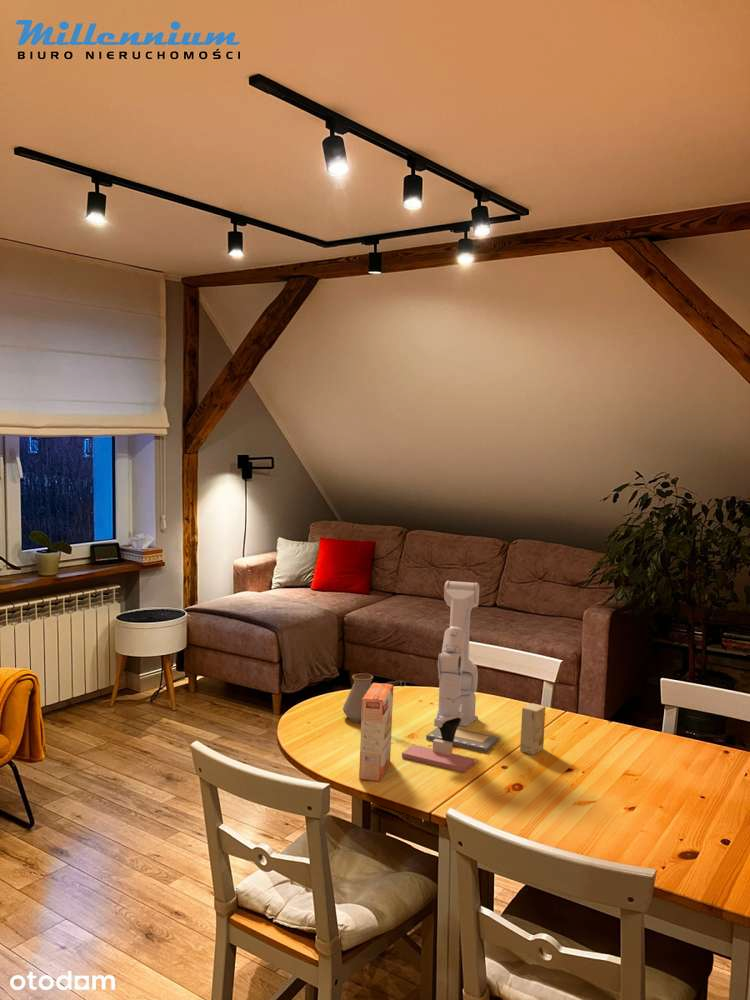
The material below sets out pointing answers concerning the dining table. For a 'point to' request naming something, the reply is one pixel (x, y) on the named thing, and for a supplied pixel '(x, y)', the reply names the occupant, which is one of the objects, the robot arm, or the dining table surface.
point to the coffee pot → (359, 695)
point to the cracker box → (376, 731)
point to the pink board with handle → (439, 756)
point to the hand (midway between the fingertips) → (447, 744)
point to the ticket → (468, 739)
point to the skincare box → (532, 728)
